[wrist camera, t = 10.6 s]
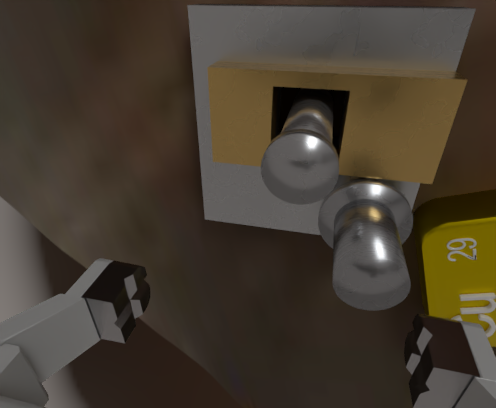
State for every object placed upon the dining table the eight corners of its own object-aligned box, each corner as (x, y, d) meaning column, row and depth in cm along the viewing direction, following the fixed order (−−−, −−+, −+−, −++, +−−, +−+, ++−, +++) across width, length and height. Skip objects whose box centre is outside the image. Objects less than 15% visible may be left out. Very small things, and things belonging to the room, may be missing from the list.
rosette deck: (463, 7, 22) (566, 22, 12) (396, 229, 32) (423, 339, 22) (199, 3, 25) (109, 13, 15) (212, 206, 35) (162, 292, 25)
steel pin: (342, 80, 26) (344, 138, 16) (335, 130, 28) (333, 208, 18) (290, 78, 26) (261, 131, 17) (287, 127, 29) (259, 199, 19)
